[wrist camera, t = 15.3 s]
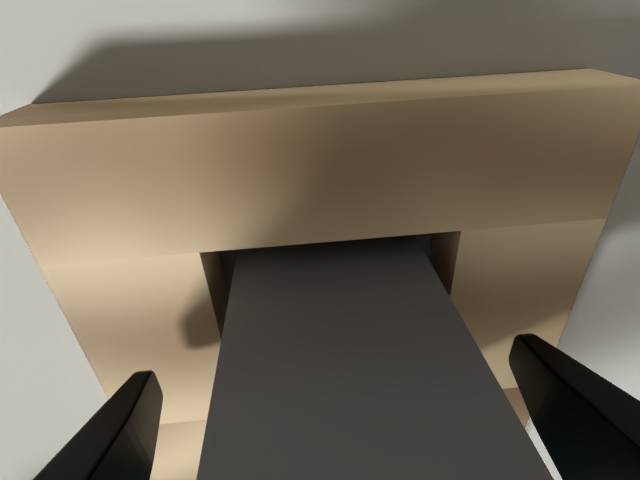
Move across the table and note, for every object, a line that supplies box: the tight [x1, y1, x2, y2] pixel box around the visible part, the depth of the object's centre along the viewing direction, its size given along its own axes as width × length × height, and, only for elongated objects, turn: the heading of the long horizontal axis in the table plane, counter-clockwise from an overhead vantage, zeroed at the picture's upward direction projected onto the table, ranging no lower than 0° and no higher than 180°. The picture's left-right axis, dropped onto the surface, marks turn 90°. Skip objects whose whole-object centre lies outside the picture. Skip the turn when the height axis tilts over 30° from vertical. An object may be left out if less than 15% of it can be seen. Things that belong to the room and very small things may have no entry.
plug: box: [196, 235, 554, 480], centre depth 9 cm, size 5×5×7 cm
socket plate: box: [0, 68, 640, 480], centre depth 14 cm, size 22×13×2 cm, turn 3°
